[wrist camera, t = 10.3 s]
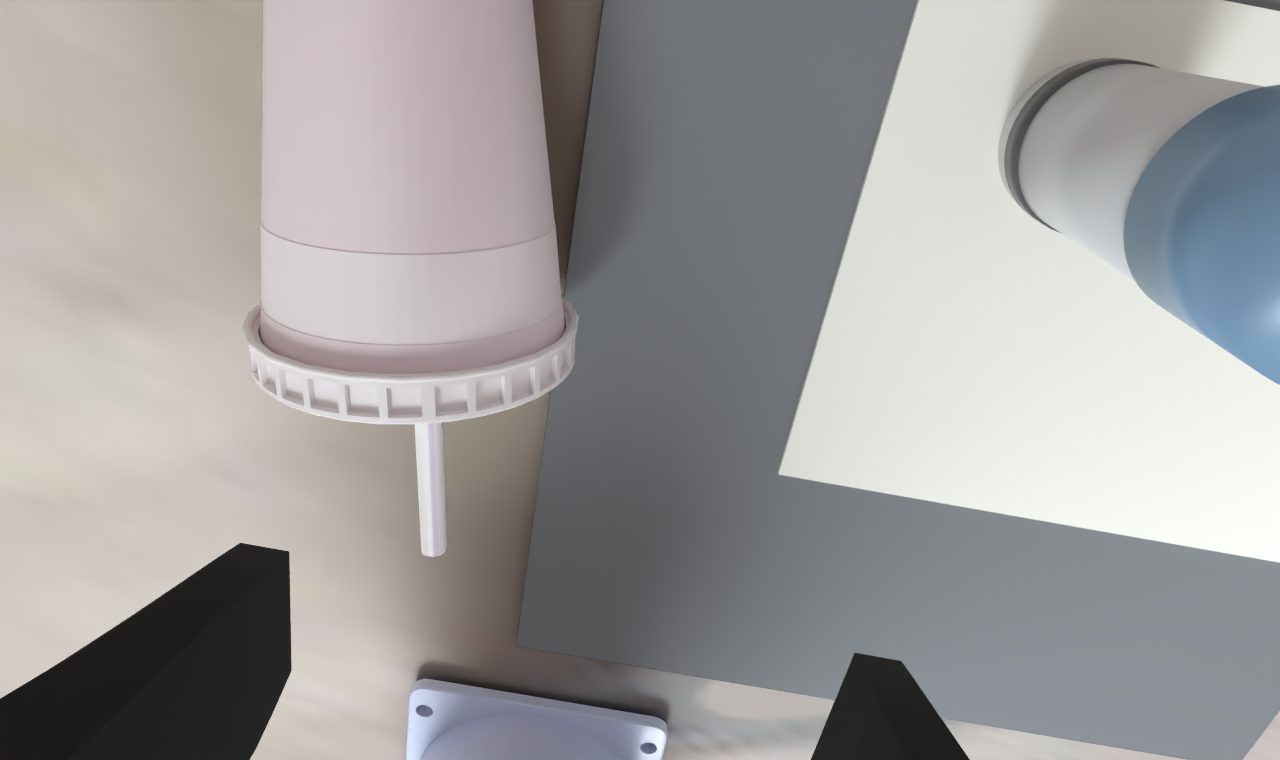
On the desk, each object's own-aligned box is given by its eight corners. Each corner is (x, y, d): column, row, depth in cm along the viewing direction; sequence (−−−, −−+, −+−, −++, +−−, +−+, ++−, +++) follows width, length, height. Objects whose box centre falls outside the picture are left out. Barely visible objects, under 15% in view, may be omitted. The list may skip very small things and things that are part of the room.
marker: (1124, 237, 17) (1438, 415, 10) (969, 209, 17) (1176, 370, 10) (1198, 69, 16) (1627, 141, 9) (1029, 38, 16) (1322, 84, 9)
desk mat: (1230, 759, 25) (1236, 767, 24) (518, 638, 24) (516, 646, 24) (1826, -43, 15) (1847, -43, 15) (643, -278, 14) (642, -284, 14)
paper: (1380, 577, 21) (1385, 581, 21) (777, 470, 21) (778, 474, 21) (1739, 100, 16) (1748, 102, 16) (933, -56, 15) (935, -56, 15)
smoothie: (664, -222, 11) (614, 592, 17) (532, -151, 17) (526, 450, 22) (132, -330, 9) (279, 667, 14) (177, -205, 14) (271, 487, 20)
